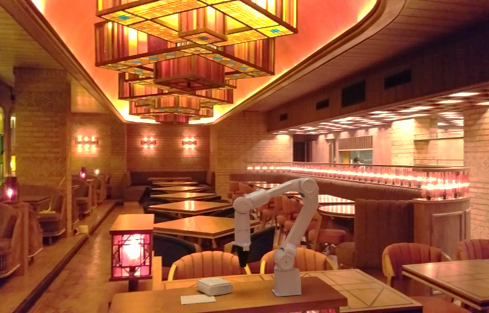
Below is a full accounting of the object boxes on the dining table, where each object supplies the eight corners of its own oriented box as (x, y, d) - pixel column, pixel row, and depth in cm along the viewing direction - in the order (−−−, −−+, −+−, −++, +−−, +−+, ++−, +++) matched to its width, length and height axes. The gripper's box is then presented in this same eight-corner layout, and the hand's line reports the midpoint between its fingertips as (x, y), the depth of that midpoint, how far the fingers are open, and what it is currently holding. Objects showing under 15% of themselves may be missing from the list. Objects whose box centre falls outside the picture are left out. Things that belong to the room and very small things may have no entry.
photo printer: (233, 293, 155) (217, 286, 165) (233, 281, 155) (217, 275, 165) (209, 297, 149) (194, 289, 159) (209, 285, 149) (194, 278, 160)
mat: (213, 294, 153) (212, 293, 153) (215, 301, 145) (215, 301, 145) (180, 297, 151) (180, 296, 151) (181, 304, 142) (181, 304, 142)
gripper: (228, 227, 158) (229, 263, 158) (234, 233, 144) (235, 272, 144) (246, 226, 160) (247, 262, 159) (254, 232, 145) (255, 271, 145)
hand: (243, 267), depth 151 cm, fingers closed
